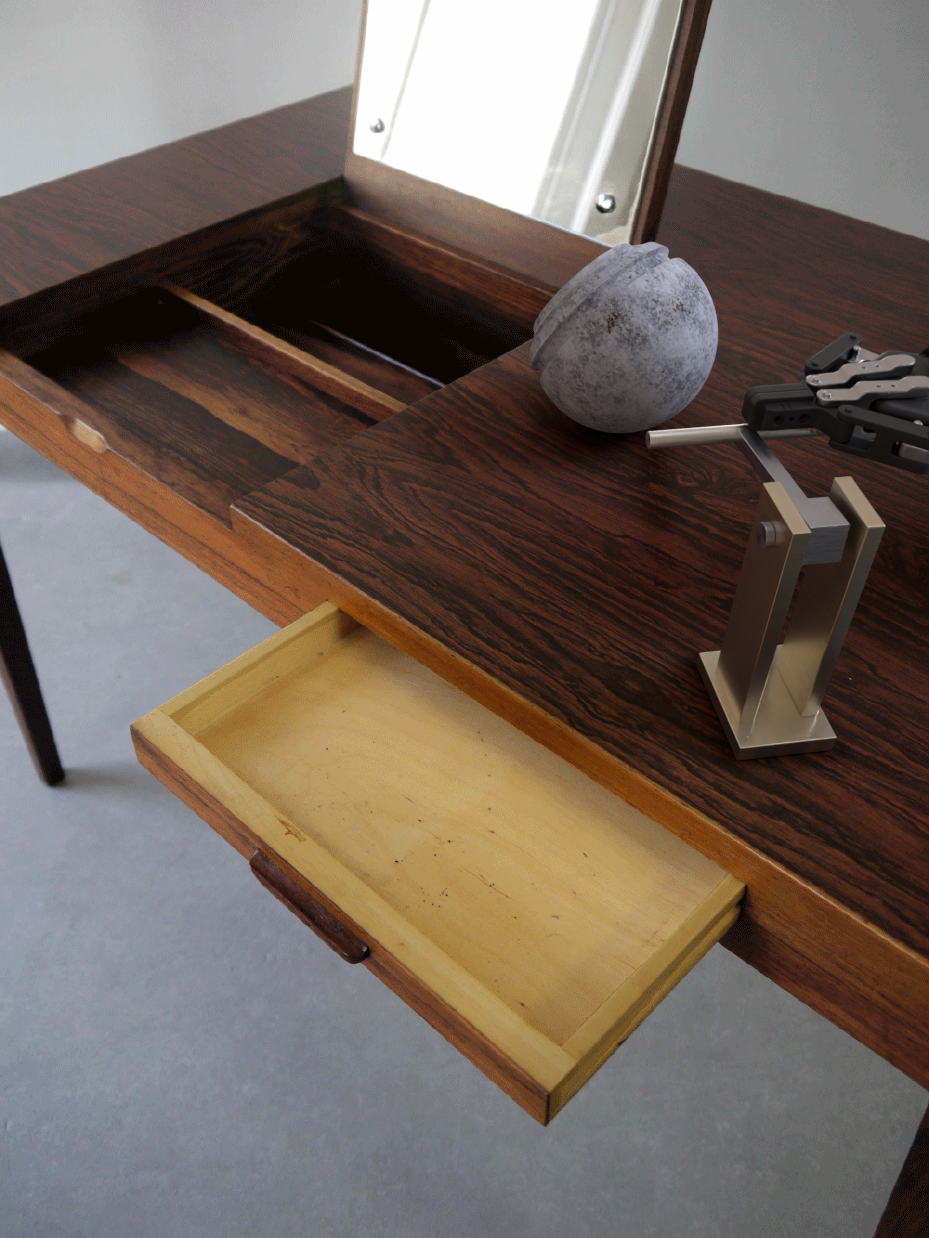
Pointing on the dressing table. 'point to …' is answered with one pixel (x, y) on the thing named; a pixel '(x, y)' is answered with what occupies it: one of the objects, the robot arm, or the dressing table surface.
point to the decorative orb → (626, 340)
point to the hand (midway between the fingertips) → (747, 409)
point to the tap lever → (771, 480)
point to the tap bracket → (802, 666)
